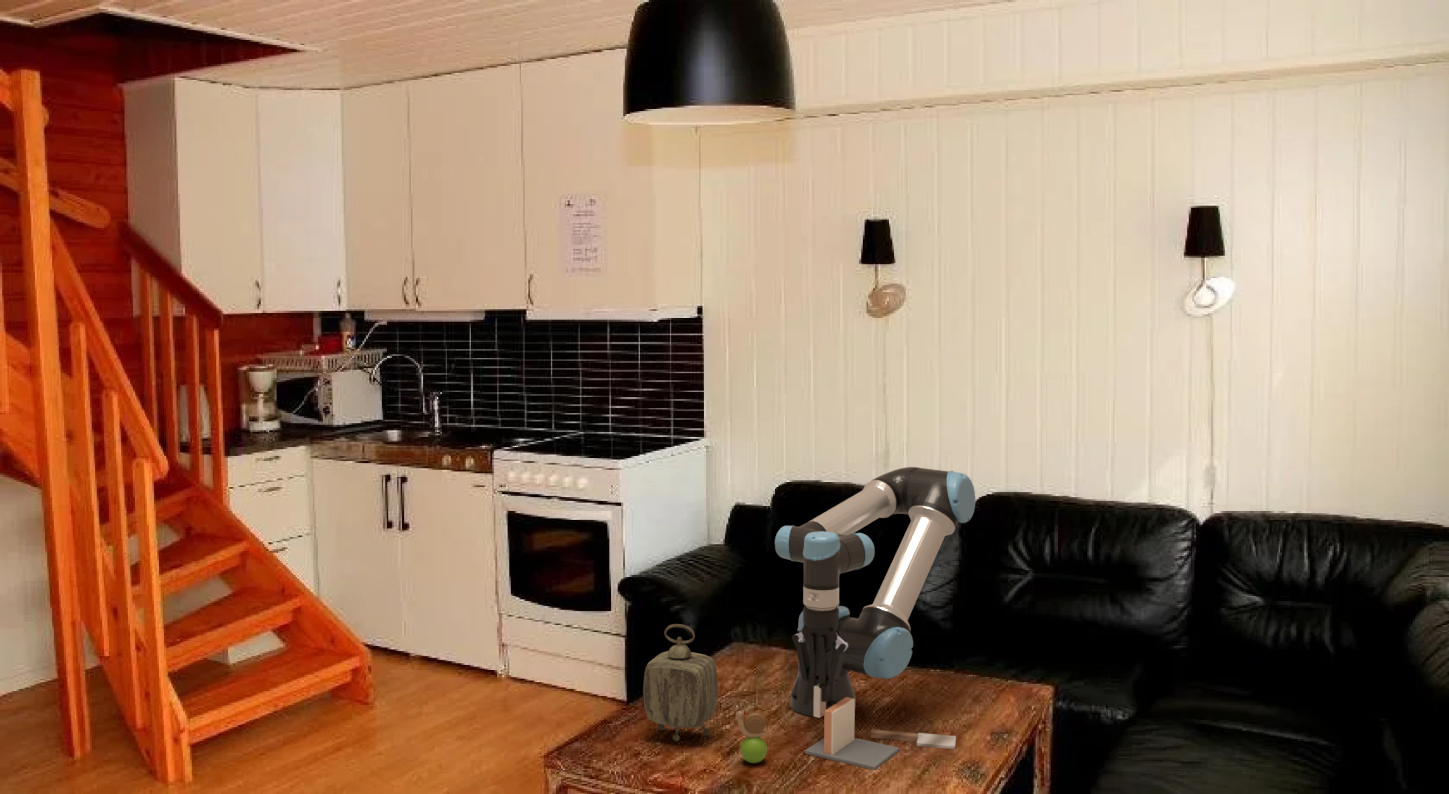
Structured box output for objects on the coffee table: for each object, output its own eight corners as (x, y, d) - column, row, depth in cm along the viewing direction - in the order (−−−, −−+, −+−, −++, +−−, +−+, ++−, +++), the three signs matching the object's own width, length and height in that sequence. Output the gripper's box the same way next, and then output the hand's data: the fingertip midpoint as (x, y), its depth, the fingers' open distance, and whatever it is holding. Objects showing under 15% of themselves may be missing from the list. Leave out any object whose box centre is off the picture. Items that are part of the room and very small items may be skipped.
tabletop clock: (717, 734, 262) (717, 622, 260) (703, 750, 253) (703, 633, 251) (656, 726, 267) (655, 616, 264) (640, 741, 258) (639, 627, 256)
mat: (804, 753, 251) (804, 750, 251) (831, 735, 261) (831, 732, 261) (874, 770, 243) (874, 767, 243) (899, 750, 253) (899, 747, 253)
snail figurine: (734, 757, 249) (734, 701, 248) (765, 756, 250) (765, 700, 249) (737, 768, 244) (737, 710, 243) (768, 767, 244) (768, 709, 243)
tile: (824, 753, 250) (824, 711, 249) (845, 737, 258) (846, 697, 258) (832, 755, 249) (833, 712, 248) (854, 739, 257) (854, 698, 256)
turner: (869, 741, 258) (869, 736, 258) (872, 731, 264) (872, 726, 264) (955, 749, 254) (955, 743, 254) (955, 738, 260) (956, 733, 260)
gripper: (785, 605, 254) (784, 714, 256) (839, 614, 247) (838, 726, 249) (802, 598, 260) (801, 704, 262) (856, 606, 253) (855, 716, 255)
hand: (819, 715), depth 255 cm, fingers closed
